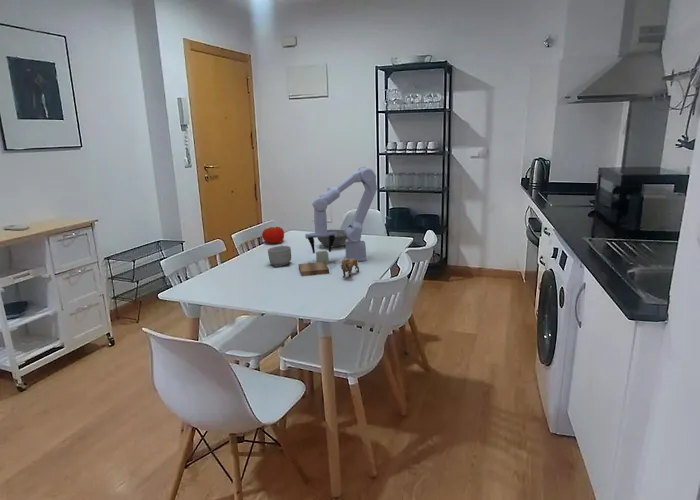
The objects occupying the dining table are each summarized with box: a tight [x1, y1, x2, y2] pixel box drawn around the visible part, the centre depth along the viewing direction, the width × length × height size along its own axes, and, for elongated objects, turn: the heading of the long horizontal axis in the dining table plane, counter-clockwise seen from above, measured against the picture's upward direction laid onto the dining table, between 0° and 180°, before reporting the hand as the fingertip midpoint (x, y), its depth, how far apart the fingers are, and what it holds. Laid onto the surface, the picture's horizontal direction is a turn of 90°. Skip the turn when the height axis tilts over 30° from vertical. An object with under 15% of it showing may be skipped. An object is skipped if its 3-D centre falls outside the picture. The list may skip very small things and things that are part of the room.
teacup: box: [267, 244, 292, 267], centre depth 217 cm, size 14×11×8 cm
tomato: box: [261, 226, 285, 244], centre depth 258 cm, size 14×13×9 cm
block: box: [315, 250, 330, 265], centre depth 217 cm, size 5×5×5 cm
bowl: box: [317, 229, 347, 248], centre depth 246 cm, size 18×18×8 cm
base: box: [298, 261, 330, 277], centre depth 204 cm, size 12×12×2 cm
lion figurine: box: [340, 258, 360, 279], centre depth 196 cm, size 15×5×9 cm, turn 163°
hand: (321, 252), depth 216 cm, fingers open, 7 cm apart
